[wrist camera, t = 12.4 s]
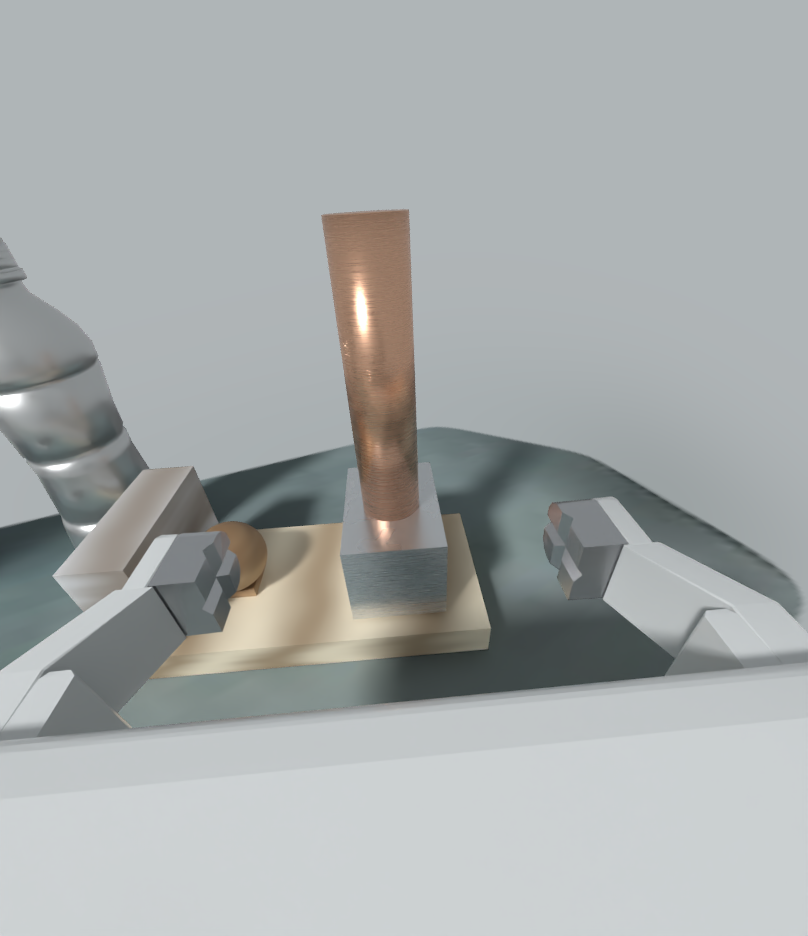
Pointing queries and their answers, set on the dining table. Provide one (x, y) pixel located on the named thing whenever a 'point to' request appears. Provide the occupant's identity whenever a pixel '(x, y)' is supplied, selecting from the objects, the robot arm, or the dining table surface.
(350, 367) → the copper post with base
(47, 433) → the plastic bottle
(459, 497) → the dining table surface
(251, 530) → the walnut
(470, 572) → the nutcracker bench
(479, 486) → the dining table surface
